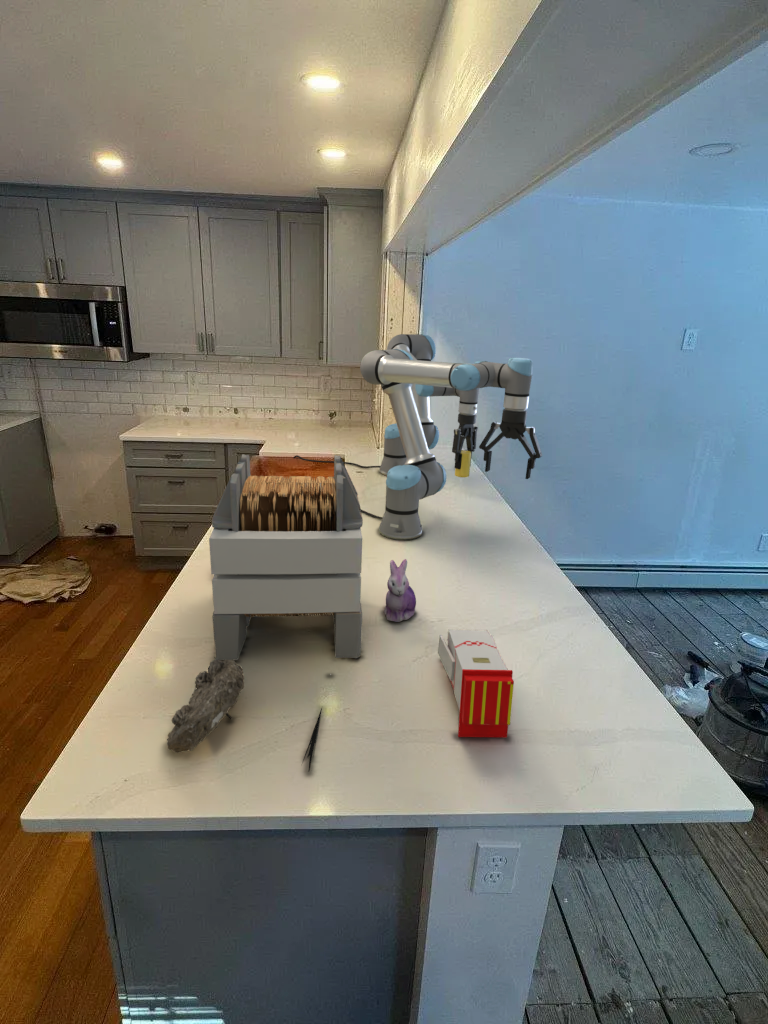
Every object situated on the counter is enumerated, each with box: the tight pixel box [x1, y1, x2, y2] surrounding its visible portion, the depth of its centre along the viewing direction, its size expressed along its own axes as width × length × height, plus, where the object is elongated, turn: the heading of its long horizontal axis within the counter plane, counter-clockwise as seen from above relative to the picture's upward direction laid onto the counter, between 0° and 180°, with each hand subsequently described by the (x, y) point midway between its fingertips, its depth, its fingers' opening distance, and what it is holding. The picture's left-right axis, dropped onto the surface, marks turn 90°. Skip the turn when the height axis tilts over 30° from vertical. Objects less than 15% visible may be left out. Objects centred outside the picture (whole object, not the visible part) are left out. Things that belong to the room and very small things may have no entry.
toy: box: [437, 628, 515, 738], centre depth 117 cm, size 12×13×30 cm
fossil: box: [166, 659, 245, 754], centre depth 106 cm, size 22×10×15 cm
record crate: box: [208, 453, 364, 661], centre depth 135 cm, size 34×33×41 cm
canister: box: [454, 449, 472, 478], centre depth 243 cm, size 6×6×10 cm
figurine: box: [384, 558, 417, 623], centre depth 145 cm, size 9×10×15 cm
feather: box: [301, 673, 332, 771], centre depth 108 cm, size 2×28×2 cm
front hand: (507, 474), depth 185 cm, fingers open, 13 cm apart
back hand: (462, 467), depth 244 cm, fingers closed on canister, 6 cm apart
